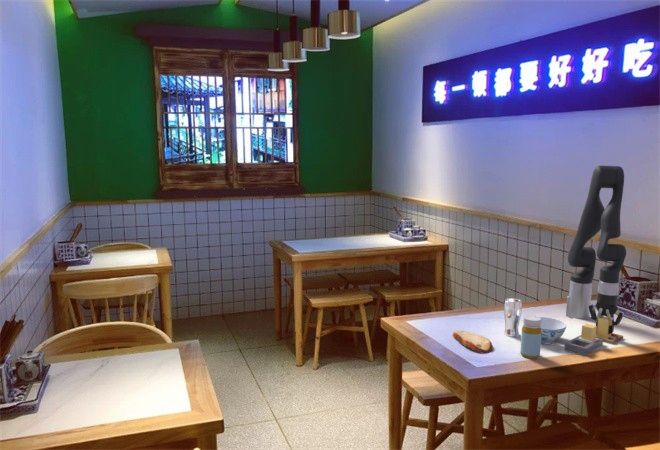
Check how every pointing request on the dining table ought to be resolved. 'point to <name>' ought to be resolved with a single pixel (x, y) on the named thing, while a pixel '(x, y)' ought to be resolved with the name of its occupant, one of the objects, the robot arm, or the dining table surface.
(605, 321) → the butter block
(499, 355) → the dining table surface
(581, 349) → the butter dish
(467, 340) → the slice of bread
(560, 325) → the chinaware
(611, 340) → the tray
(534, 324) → the bottle
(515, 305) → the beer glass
